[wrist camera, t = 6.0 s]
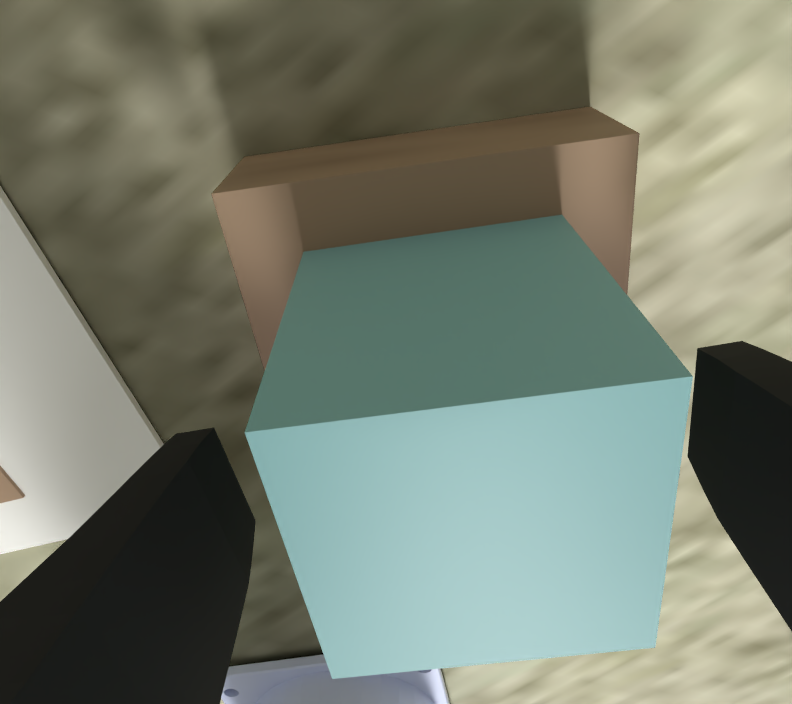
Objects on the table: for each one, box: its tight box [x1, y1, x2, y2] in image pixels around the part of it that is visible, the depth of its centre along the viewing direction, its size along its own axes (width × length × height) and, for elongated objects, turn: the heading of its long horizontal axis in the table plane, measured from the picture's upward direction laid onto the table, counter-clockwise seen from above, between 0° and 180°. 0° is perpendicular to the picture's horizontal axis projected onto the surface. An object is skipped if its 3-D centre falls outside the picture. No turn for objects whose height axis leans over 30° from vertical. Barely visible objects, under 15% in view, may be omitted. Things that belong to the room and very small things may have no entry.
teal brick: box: [245, 215, 693, 679], centre depth 9 cm, size 4×4×5 cm
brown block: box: [212, 107, 639, 371], centre depth 13 cm, size 7×7×3 cm
